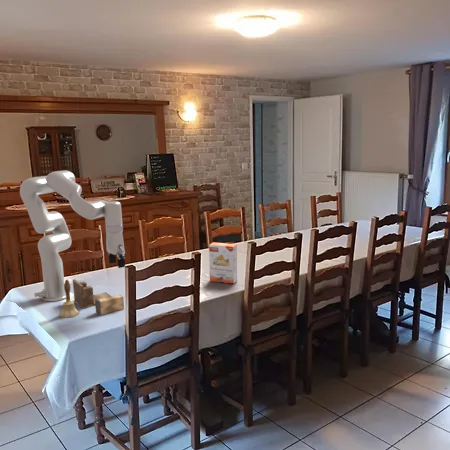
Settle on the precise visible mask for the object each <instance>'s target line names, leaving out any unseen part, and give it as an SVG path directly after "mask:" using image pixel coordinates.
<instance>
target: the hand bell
mask: <svg viewBox="0 0 450 450" xmlns="http://www.w3.org/2000/svg"><path fill="white" fill-rule="evenodd" d="M64 289H65V292H66V298H65V301H64V302H63V303H62V304H63V305H62V310H61V312H60V313H59V317H60V318H72V317H76V316H77V315H79V314H80V312H79V310H77V308H76V305H75V303H74V302H75V301H72V300H71V295H70V293H71V283H70V280H69V279H64Z"/></svg>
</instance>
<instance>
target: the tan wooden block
mask: <svg viewBox="0 0 450 450" xmlns="http://www.w3.org/2000/svg"><path fill="white" fill-rule="evenodd" d="M124 301H125V300H124V296H123V295H122V294H117V295H113V296H112V297H107V298H103V299H95V305H94V307H95V313H96V315H98V316H102V315H105V314H109V312H110V313H114V312H118V311H121V310H125V302H124ZM117 310H118V311H117ZM101 314H102V315H101Z"/></svg>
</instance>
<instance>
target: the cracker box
mask: <svg viewBox="0 0 450 450" xmlns="http://www.w3.org/2000/svg"><path fill="white" fill-rule="evenodd" d="M237 245H238V244H237V243H236V244H235V243H225V242H214V241H213V242H211V243H210V244H209V245H208V248H209V249H208V250H209V251H208V252H209V254H208V256H209V257H208V258H209V259H208V261H209V282H214V283H220V282H224V283H223V284H228V283H234V284H235V283H236V282H237V281H238V249H237V248H238V246H237Z"/></svg>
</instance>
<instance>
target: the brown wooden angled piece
mask: <svg viewBox="0 0 450 450" xmlns="http://www.w3.org/2000/svg"><path fill="white" fill-rule="evenodd" d="M72 286H73V297H74V301H73V302H75V303H76V304H77V305H79V306H80V307H81V308H82V309H85V308H90V307H95V299H103V298H107V297H112V296H111V294H109V293H108V292H102V293H101V292H100V293H96V294H94V287H92V285H89V286H88V285H87V282H86V281H80V282H79V281H78V280H77V279H76V278H74V279H72Z"/></svg>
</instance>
